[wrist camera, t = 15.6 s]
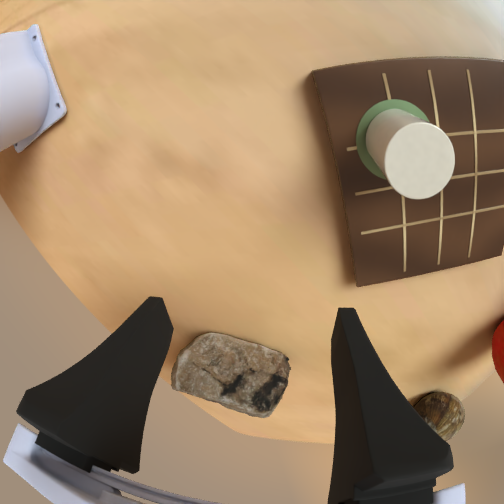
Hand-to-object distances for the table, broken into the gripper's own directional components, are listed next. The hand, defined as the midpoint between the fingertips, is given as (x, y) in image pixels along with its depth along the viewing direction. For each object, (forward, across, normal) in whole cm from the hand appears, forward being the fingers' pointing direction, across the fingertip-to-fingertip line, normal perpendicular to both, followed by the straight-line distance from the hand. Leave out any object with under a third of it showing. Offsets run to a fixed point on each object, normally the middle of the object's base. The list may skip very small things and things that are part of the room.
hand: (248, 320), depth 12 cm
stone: (+11, +4, +18) cm, 21 cm away
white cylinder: (+9, -8, -5) cm, 13 cm away
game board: (+10, -12, -3) cm, 16 cm away
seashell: (+11, -26, +32) cm, 43 cm away
